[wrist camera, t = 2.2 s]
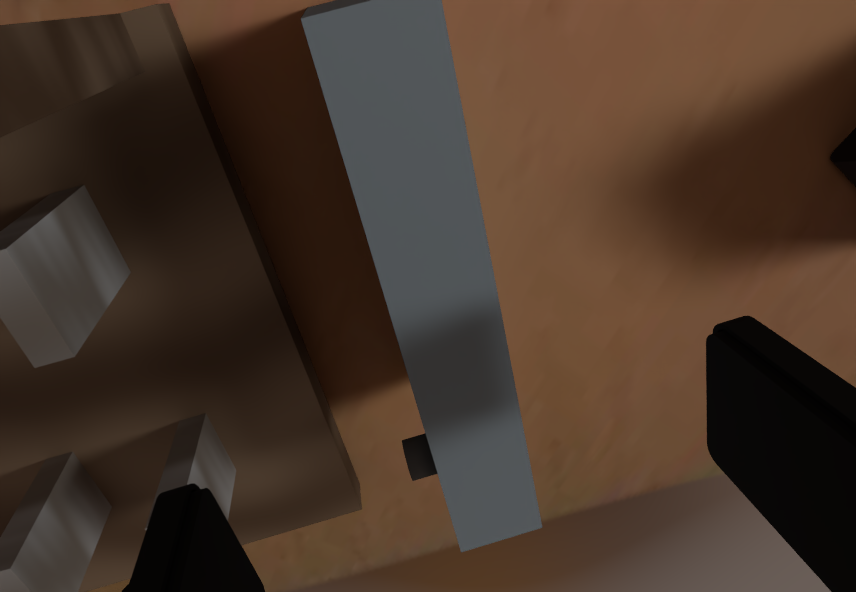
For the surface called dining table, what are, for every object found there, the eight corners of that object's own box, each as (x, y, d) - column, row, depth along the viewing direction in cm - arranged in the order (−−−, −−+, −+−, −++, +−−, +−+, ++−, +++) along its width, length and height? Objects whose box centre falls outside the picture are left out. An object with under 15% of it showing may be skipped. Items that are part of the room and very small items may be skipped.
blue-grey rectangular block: (281, 14, 18) (253, 30, 10) (383, -13, 18) (438, -18, 10) (395, 377, 24) (434, 560, 17) (469, 355, 25) (542, 527, 17)
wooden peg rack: (-323, 129, 16) (-1994, 483, 5) (168, 3, 17) (-172, 24, 5) (54, 574, 26) (-166, 1060, 14) (359, 483, 27) (394, 877, 15)
